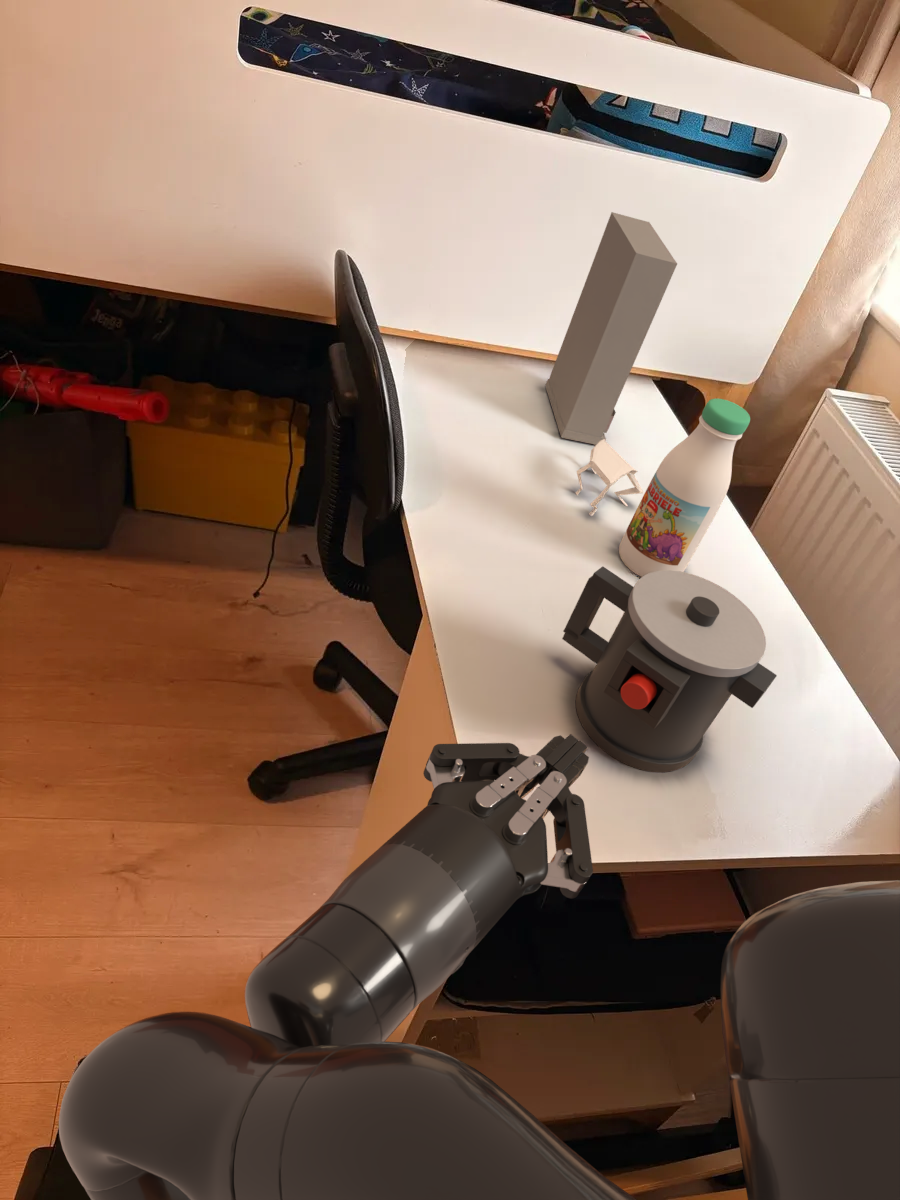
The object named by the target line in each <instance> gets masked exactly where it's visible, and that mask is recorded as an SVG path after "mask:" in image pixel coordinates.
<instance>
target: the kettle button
mask: <svg viewBox="0 0 900 1200" xmlns="http://www.w3.org/2000/svg"><path fill="white" fill-rule="evenodd" d="M656 693H657V688H656V685H655V683H654V681H653V680H652V679H651V678H649V677H648V676H647V675H644V674H635V675H633V676H632V677H631V678H630V679H629V680H628V681H627V682H626V683H625V684H624V685H623V686H622V687H621V697H622V699H623V701H624V702H625V703H626V704H627V705H628V706H629V707H631V708H633V709H643V708H645V707H646V706H647V705H648V704H649V703H650V702H651V701H652V700H653V699H654V698H655V696H656Z"/></svg>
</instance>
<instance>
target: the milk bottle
mask: <svg viewBox="0 0 900 1200" xmlns="http://www.w3.org/2000/svg"><path fill="white" fill-rule="evenodd" d="M698 421H699V423H698V424H697V426H696V427H695V429H694V430H693V431H692V432H691V433H690V434H688V436H686V438H684V440H682V441H681V442H679V443H678V444H676V445H675V446H674V447H673V448H672V449H671V450H670V451H669V452H668V453H667V454H666V455H665V456H664V458H663V459H662V460H661V463H660V464H659V465H658V467H657V469H656V471H655V472H654V474H653V476H652V478H651V480H650V482H649V484H648V486H647V488H646V490H645V492H644V493H643V496H642V498H641V499H640V502H639V504H638V506H637V508H636V509H635V512H634V514H633V516H632V518H631V520H630V521H629V524H628V526H627V527H626V530H625V532H624V534H623V536H622V538H621V540H620V543H619V545H618V553H619V558H620V560H621V561H622V563H623V564H624V565H625V566H626V567H627V569H629V570H630V571H631V572H633V573H634V574H636V575H638V576H639V577H640V578H641V577H643V576H644V575H646V574H649V573H651V572H655V571H663V570H671V571H680V572H685V570H686V568H687V567H688V565H689V563H690V562H691V560H692V558H693V556H694V555H695V553H696V551H697V550H698V547H699V546H700V544H701V542H702V541H703V539H704V537H705V535H706V533H707V532H708V529H710V526H711V525H712V524H713V523H712V522H713V521H714V519H715V517H716V515H717V513H718V512H719V510H720V508H721V506H722V504H723V502H724V500H725V499H726V496H727V493H728V490H729V488H730V485H731V479H732V472H733V471H732V469H733V455H734V450H735V448H736V447H735V446H736V444H737V441H738V440H740V439H742V438H743V435H744V433H745V432H746V430H747V429H748V427H749V425H750V422H751V415H750V414H749V413H748V411H747V410H746V409H745V408H743V407H742V406H740V405H739V404H737V403H735V402H733V401H730V400H728V399H723V398H711V399H709V400H708V401H707V402H706V404H705V406H704V408H703V409H702V412H701V415H700V416H699V418H698Z"/></svg>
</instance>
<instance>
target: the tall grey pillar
mask: <svg viewBox="0 0 900 1200" xmlns="http://www.w3.org/2000/svg"><path fill="white" fill-rule="evenodd" d="M591 263H592V264H591V266H590V269H589V271H588V274H587V276H586V279H585V282H584V285H583V287H582V290H581V292H580V294H579V298H578V300H577V303H576V306H575V309H574V312H573V314H572V316H571V320H570V322H569V324H568V328H567V330H566V332H565V335H564V338H563V341H562V342H561V345H560V348H559V352H558V354H557V357H556V360H555V362H554V364H553V367H552V371H551V373H550V375H549V378H547V381H546V382H545V383H546V384H545V385H544V387H545V390H546V393H547V396H548V399H549V403H550V406H551V408H552V412H553V415H554V418H555V421H556V425H557V429H558V431H559V434H560V438H562V439H566V440H572V441H576V442H581V443H586V444H591V445H594V446H595V445H596V444H597V443H598V442H599V441H601V440H603V439H605V441H606V440H607V438H606V435H605V434H607V433H608V431H609V429H610V426H611V424H612V422H613V419H614V418H615V416H616V413H617V412H616V410H615V407H616V405H617V403H618V401H619V398H620V396H621V394H622V392H623V390H624V387H625V384H626V382H627V380H628V379H629V375H630V373H631V371H632V368H633V366H634V364H635V361H636V359H637V357H638V355H639V352H640V350H641V348H642V346H643V344H644V341H645V339H646V336H647V334H648V332H649V330H650V328H651V325H652V323H653V321H654V319H655V316H656V314H657V311H658V309H659V307H660V305H661V303H662V300H663V298H664V296H665V293H666V291H667V289H668V286H669V284H670V282H671V279H672V277H673V276H674V272H675V270H676V268H677V265H678V262H677V260H676V259H675V258H674V256H673V255H672V253H671V252H670V251H669V249H668V248H667V246H666V244H665V243H664V241H663V240H662V239H661V237H660V236H659V234H658V233H657V231H656V230H655V228H654V227H653V225H652V224H651V222H650V221H646V220H643V219H639V218H636V217H631V216H629V215H625V214H621V213H618V212H617V213H616V212H613V211H611V213H610V214H609V217H608V220H607V223H606V226H605V229H604V231H603V233H602V237H601V239H600V242H599V245H598V248H597V250H596V252H595V255H594V258H593V261H592V262H591Z"/></svg>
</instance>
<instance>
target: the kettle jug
mask: <svg viewBox="0 0 900 1200" xmlns="http://www.w3.org/2000/svg"><path fill="white" fill-rule="evenodd" d="M604 599H605V600H607V601H608V602H610V603H611V604H612V605H614V606H615V607H616V608H618V609H619V610H621V611H623V614H622V616H621V618H620V619H619V622H618V623H617V625H616V628H615V629H614V631H613V633H612V634H611V637H610V639H609V641H607V640H606V639H605V638H603V637H602V636H600V635H599V634H597V633H596V632H595V631H593V630H592V629H591V628H590V627H591V625H592V623H593V621H594V619H595V617H596V615H597V613H598V612H599V609H600V607H601V605H602V603H603V601H604ZM563 633H564V634H563V636H562V638H561V640H563V642H566V643H567V644H569V646H571V647H572V648H574V649H575V650H576V651H578V652H579V653H581V654H582V655H583V656H585V657H586V658H588V659H589V660H590V661H592V662H593V663H595V664H596V665H595V667H594V669H593V670H591V671H590V672H588V673H587V675H586V676H584V679H583V680H582V682H581V683H580V685H579V688H578V690H577V693H576V697H575V709H576V714H577V717H578V720H579V722H580V724H581V726H582V728H583V729H584V731H585V732H586V734H587V735H588V737H589V738H590V739H591V741H593V742H594V743H595V744H596V745H597V746H598V747H599V748H600V749H601V750H603V752H605V753H606V754H608V755H609V756H610V757H612V758H613V759H615V760H617V761H618V762H621V763H623V764H625V765H627V766H629V767H631V768H634V769H638V770H642V771H645V772H650V773H651V772H653V773H669V772H674V771H678V770H680V769H682V768H684V767H685V766H687V765H689V764H690V763H691V762H692V761H693V759H694V758H695V756H697V754H698V752H699V751H700V749H701V747H702V745H703V742H704V735H705V734H706V732H707V731H708V729H709V728H710V726H711V725H712V724H713V722H714V721H715V720H716V718H717V716H718V715H719V714H720V712H721V710H722V709H723V708H724V706H725V705H726V704H727V702H728V700H729V699H730V698H731V696H734V697H735V698H737V699H738V700H740V701H741V702H743V704H745V705H747V706H748V707H750V708H751V709H753V708H754V707H755V706H756V705H757V704H758V702H759V701H760V699H761V698H762V697H763V696H764V695H765V693H766V692H767V690H768V689H769V687H770V686H771V684H772V683H773V682H774V681H775V680H776V678H777V674H776V673H774V672H773V671H772V670H770V669H768V667H766V666H764V665H762V664H761V663H759V662H760V661H761V660H762V658H763V656H764V655H765V653H766V648H767V641H766V640H767V639H766V634H765V632H764V629H763V627H762V624H761V623H760V621H759V620H758V618H757V616H756V615H755V614H754V613H753V612H752V610H750V608H749V607H748V606H747V605H746V604H745V603H744V602H743V601H742V600H741V599H739V597H737V596H736V595H735V594H733V593H731V592H730V591H729V590H727V589H726V588H724V587H722V586H721V585H719V584H716V583H715V582H713V581H711V580H709V579H706V578H704V577H701V576H699V575H695V574H693V573H688V572H685V571H684V572H680V571H671V570H663V571H655V572H651V573H649V574H646V575H644V576H643V577H641V576H640V578H639V579H638V580H637V581H636V582H635V584H634V586H633V585H632V584H630V583H628V582H627V581H626V580H624V579H623V578H621V577H620V576H618V575H617V574H615V573H614V572H613V571H611V570H609V569H608V568H607V567H605V566H601V567H600V568H598V569H597V570H596V571H594V572H593V574H592V575H591V576H590V577H589V578H588V580H587V581H586V583H585V585H584V587H583V590H582V592H581V594H580V595H579V597H578V600H577V601H576V604H575V606H574V608H573V610H572V612H571V614H570V617H569V619H568V621H567V623H566V625H565V627H564V629H563ZM635 674H644V675H647V676H648V677H649V678H651V679H652V680H653V681H654V683H655V685H656V688H657V693H656V696H655V698H654V699H653V700H652V701H651V702H650V703H649V704H648V705H647V706H646V707H645V708H643V709H633V708H631V707H629V706H628V705H627V704H626V703H625V702H624V701H623V699H622V697H621V687H622V686H623V685H624V684H625V683H626V682H627V681H628V680H629V679H630V678H631V677H632V676H633V675H635Z"/></svg>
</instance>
